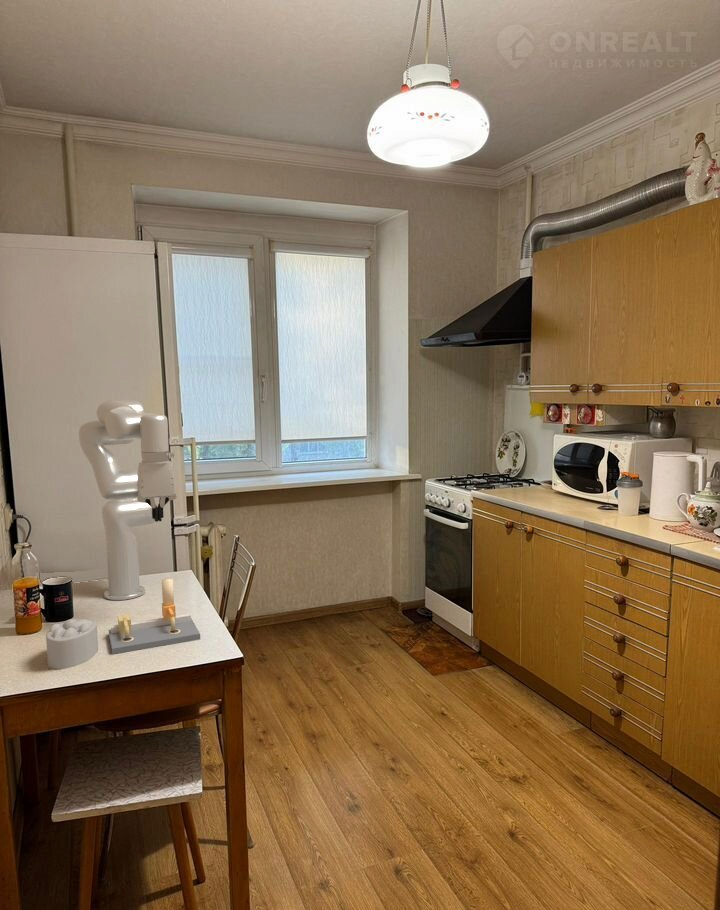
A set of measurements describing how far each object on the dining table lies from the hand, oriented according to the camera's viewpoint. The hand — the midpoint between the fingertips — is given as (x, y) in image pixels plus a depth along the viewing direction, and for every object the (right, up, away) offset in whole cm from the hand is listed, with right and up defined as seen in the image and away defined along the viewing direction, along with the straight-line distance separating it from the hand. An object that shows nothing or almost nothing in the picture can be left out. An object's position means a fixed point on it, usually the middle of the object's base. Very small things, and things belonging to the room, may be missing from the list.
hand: (157, 520), depth 181 cm
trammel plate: (+3, -30, -11) cm, 33 cm away
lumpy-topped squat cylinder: (-14, -32, -24) cm, 42 cm away
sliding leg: (+6, -28, -8) cm, 30 cm away
